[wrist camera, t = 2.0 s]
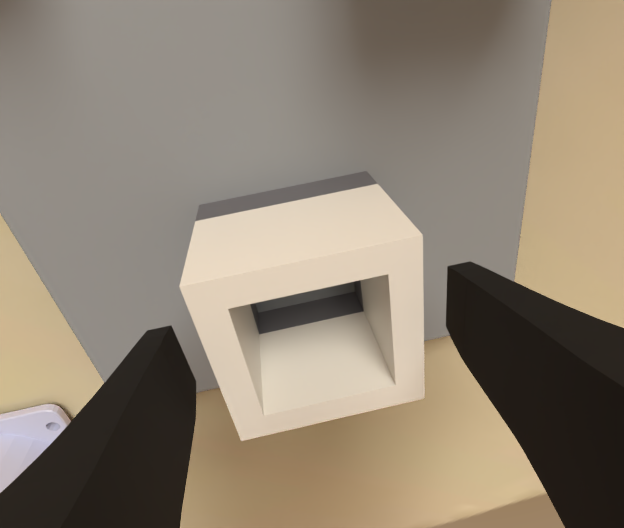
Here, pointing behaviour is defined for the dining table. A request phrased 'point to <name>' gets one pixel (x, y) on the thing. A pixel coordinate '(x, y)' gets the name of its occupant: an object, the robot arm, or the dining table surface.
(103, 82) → the pin board
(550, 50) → the dining table surface
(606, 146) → the dining table surface
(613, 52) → the dining table surface
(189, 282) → the sleeve
